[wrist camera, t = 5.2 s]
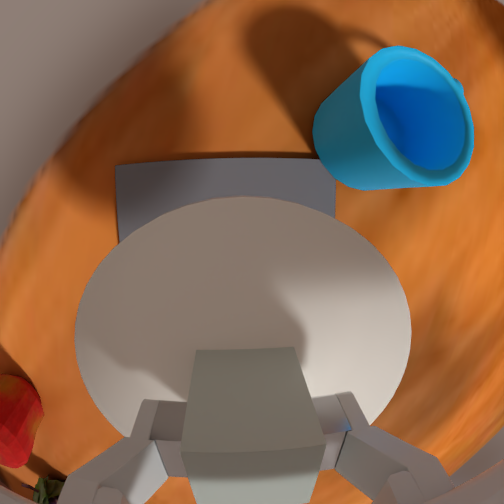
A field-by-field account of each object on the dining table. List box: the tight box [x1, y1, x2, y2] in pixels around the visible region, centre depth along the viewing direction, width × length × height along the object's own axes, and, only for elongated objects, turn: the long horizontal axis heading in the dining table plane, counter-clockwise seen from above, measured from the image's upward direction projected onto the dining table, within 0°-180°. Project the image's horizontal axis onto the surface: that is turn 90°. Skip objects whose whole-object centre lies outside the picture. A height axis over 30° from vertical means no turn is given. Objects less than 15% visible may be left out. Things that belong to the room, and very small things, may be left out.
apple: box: [0, 374, 44, 468], centre depth 19 cm, size 9×8×12 cm
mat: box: [115, 158, 336, 242], centre depth 22 cm, size 16×16×1 cm
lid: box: [75, 195, 411, 504], centre depth 8 cm, size 12×12×5 cm
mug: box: [312, 46, 474, 191], centre depth 17 cm, size 12×8×8 cm
